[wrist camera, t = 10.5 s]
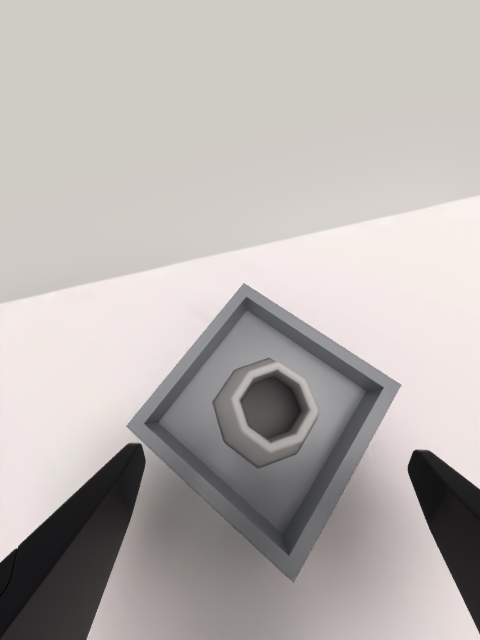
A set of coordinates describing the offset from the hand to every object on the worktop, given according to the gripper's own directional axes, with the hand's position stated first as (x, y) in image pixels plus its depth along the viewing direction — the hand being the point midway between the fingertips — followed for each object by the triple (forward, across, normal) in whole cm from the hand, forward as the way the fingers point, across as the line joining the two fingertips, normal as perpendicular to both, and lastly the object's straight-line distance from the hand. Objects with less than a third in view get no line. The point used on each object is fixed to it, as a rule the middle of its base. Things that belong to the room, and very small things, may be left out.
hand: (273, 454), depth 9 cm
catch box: (+9, 0, +7) cm, 12 cm away
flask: (+9, 0, +6) cm, 11 cm away
